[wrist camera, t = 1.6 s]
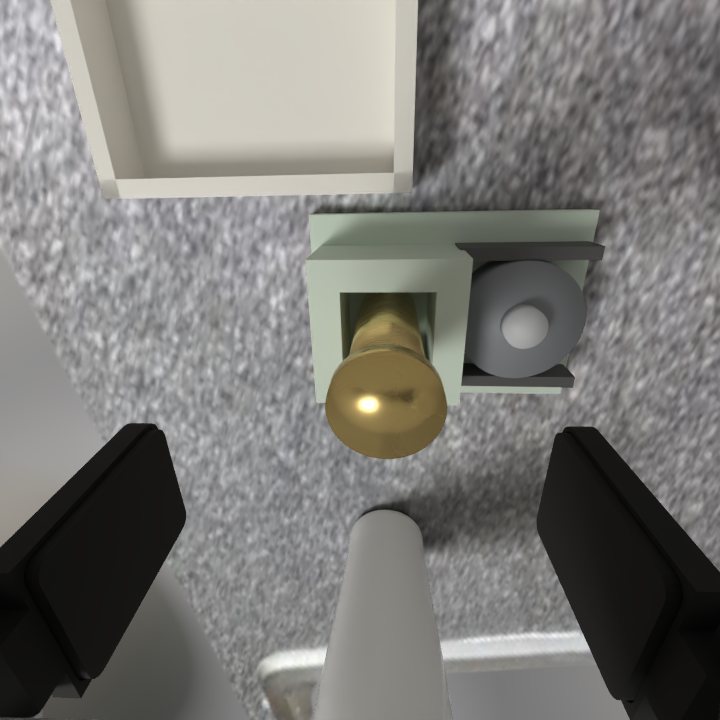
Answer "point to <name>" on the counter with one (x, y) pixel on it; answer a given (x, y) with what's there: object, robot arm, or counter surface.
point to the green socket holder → (459, 291)
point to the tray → (244, 95)
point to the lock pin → (386, 383)
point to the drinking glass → (384, 630)
